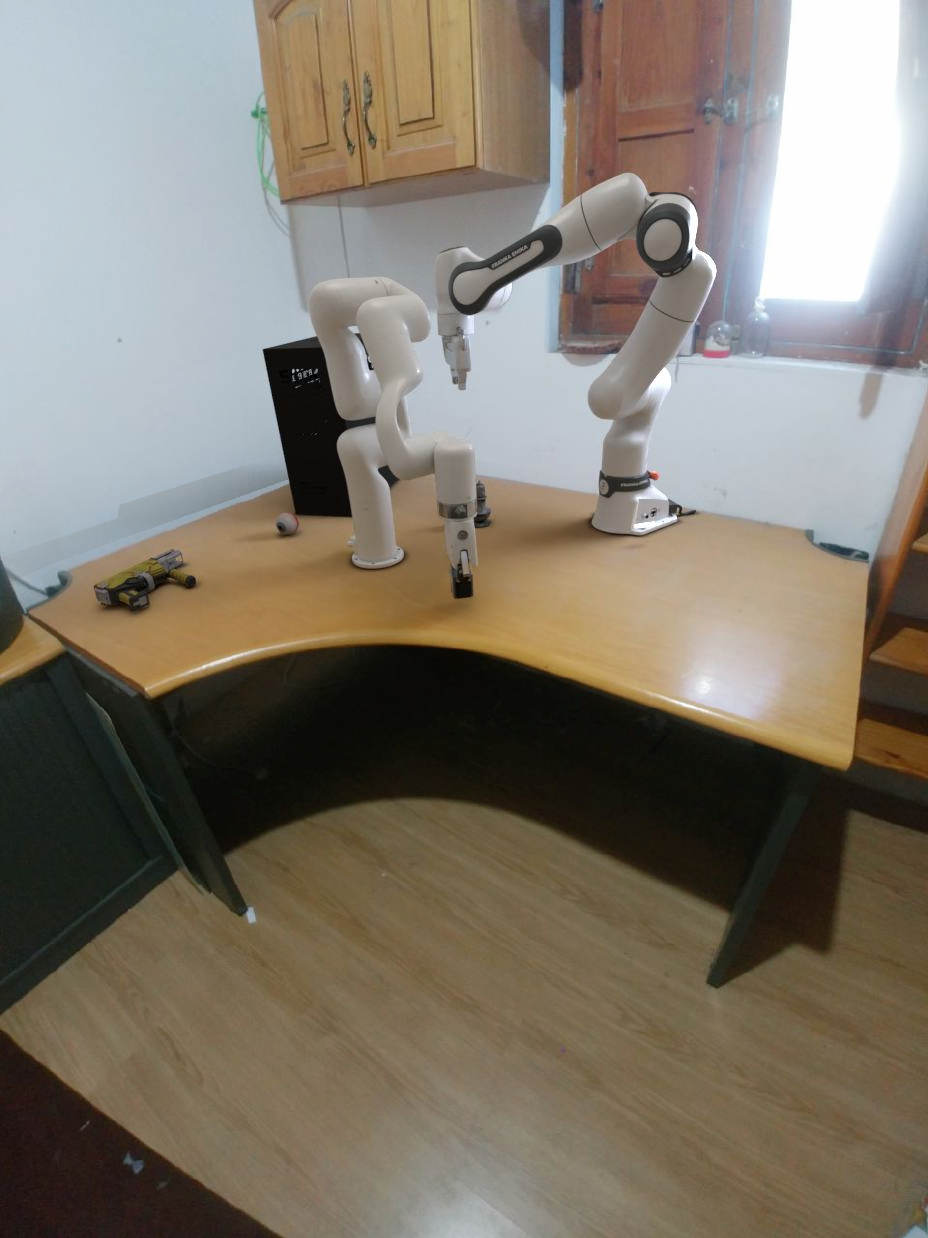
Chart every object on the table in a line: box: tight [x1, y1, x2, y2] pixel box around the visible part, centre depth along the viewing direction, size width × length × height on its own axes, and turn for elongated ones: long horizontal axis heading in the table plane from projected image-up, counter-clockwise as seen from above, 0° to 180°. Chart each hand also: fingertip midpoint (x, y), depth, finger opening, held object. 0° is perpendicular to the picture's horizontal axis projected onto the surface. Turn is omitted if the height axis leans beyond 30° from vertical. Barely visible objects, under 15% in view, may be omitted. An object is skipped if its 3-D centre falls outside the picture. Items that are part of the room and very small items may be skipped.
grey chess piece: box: [473, 479, 492, 528], centre depth 162 cm, size 6×6×12 cm
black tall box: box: [262, 332, 400, 517], centre depth 181 cm, size 38×20×45 cm, turn 167°
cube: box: [448, 568, 475, 600], centre depth 123 cm, size 4×4×5 cm
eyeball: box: [275, 511, 300, 536], centre depth 163 cm, size 6×6×6 cm
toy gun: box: [93, 548, 197, 612], centre depth 139 cm, size 5×24×15 cm
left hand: (461, 591), depth 124 cm, fingers closed on cube, 4 cm apart
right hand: (459, 386), depth 152 cm, fingers open, 8 cm apart
